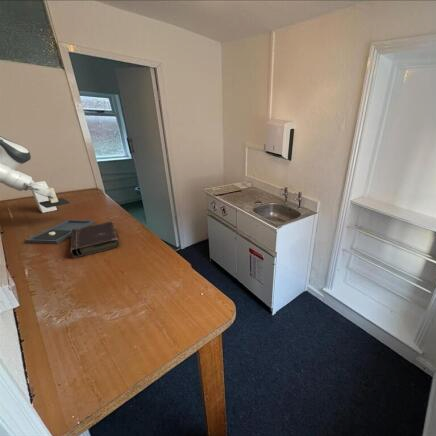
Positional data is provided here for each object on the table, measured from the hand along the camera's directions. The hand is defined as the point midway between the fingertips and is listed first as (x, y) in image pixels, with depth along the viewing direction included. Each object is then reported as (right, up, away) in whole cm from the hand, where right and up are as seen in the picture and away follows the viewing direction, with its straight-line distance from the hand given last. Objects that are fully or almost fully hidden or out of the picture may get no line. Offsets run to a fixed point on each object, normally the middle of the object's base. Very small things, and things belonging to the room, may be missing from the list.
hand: (53, 195), depth 133 cm
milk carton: (-24, -8, +21) cm, 33 cm away
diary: (+37, -26, -14) cm, 47 cm away
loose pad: (0, -5, +1) cm, 5 cm away
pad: (+12, -23, -11) cm, 28 cm away
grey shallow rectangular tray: (+11, -21, -5) cm, 24 cm away
